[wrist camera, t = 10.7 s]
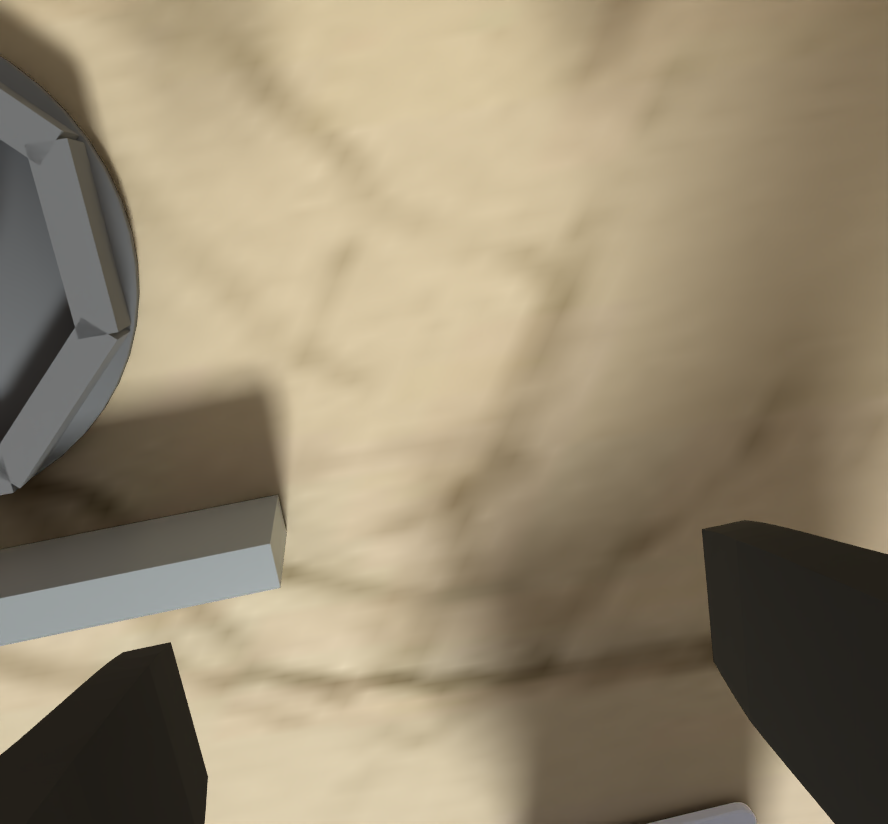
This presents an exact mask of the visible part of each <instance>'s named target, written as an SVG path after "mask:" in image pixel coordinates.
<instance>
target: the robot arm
mask: <svg viewBox="0 0 888 824" xmlns="http://www.w3.org/2000/svg"><path fill="white" fill-rule="evenodd" d="M702 535H703V547H704V558H705V569H706V581H707V592H708V603H709V615H710V626H711V637H712V649H713V660H714V663H715V665H716V666H717V668H718V670H719V671H720V673H721V675H722V676H723V678H724V680H725V681H726V683H727V685H728V687H729V688H730V690H731V692H732V693H733V695H734V696H735V698H736V700H737V701H738V703H739V704H740V706H741V707H742V709H743V711H744V712H745V714H746V715H747V717H748V718H749V720H750V721H751V723H752V724H753V725H754V726H755V728H756V729H757V730H758V731H759V733H760V734H761V735H762V736H763V738H764V739H765V740H766V741H767V743H768V744H769V745H770V746H771V747H772V749H773V750H774V751H775V752H776V754H777V755H778V756H779V757H780V758H781V760H782V761H783V762H784V763H785V765H786V766H787V767H788V768H789V769H790V771H791V772H792V773H793V774H794V775H795V777H796V778H797V779H798V780H799V781H800V783H801V784H802V785H803V786H804V787H805V789H806V790H807V791H808V792H809V793H810V795H811V796H812V797H813V798H814V799H815V800H816V802H817V803H818V804H819V805H820V806H821V808H822V809H823V810H824V811H825V812H826V814H827V815H828V816H829V817H830V818H831V820H832V821H833V822H834V823H835V824H888V554H884V553H880V552H876V551H872V550H869V549H865V548H861V547H857V546H853V545H850V544H846V543H842V542H838V541H835V540H831V539H827V538H823V537H820V536H816V535H812V534H808V533H804V532H801V531H797V530H793V529H789V528H784V527H780V526H776V525H771V524H766V523H761V522H754V521H746V520H744V521H739V522H734V523H730V524H725V525H720V526H716V527H711V528H706V529H702ZM207 782H208V775H207V772H206V768H205V765H204V761H203V757H202V754H201V750H200V746H199V743H198V739H197V736H196V732H195V728H194V725H193V721H192V718H191V714H190V710H189V707H188V703H187V699H186V696H185V692H184V689H183V685H182V681H181V678H180V674H179V670H178V667H177V663H176V660H175V656H174V652H173V649H172V645H171V642H170V643H165V644H160V645H155V646H151V647H146V648H141V649H137V650H132V651H127V652H123V653H121V654H120V655H118V656H117V657H115V658H114V659H112V660H111V661H110V662H109V663H107V664H106V665H105V666H103V667H102V668H101V669H100V670H99V671H97V672H96V673H95V674H94V675H93V676H91V677H90V678H89V679H88V680H87V681H86V682H85V683H83V684H82V685H81V686H80V687H79V688H78V689H76V690H75V691H74V692H73V693H72V694H71V695H70V696H69V697H67V698H66V699H65V700H64V701H63V702H62V703H61V704H59V705H58V706H57V707H56V708H55V709H54V710H53V711H51V712H50V713H49V714H48V715H47V716H46V717H45V718H43V719H42V720H41V721H40V722H39V723H38V724H37V725H35V726H34V727H33V728H32V729H31V730H30V731H29V732H27V733H26V734H25V735H24V736H23V737H22V738H20V739H19V740H18V741H17V742H16V743H15V744H13V745H12V746H11V747H10V748H8V749H7V750H6V751H5V752H4V753H2V754H1V755H0V824H204V823H205V811H206V796H207ZM648 824H757V820H756V817H755V814H754V813H753V812H752V810H751V809H750V807H748V806H747V805H746V804H745V803H742V802H734V803H729V804H725V805H721V806H717V807H713V808H709V809H705V810H701V811H697V812H693V813H689V814H684V815H680V816H676V817H672V818H668V819H664V820H660V821H656V822H652V823H648Z"/></svg>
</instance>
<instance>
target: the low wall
mask: <svg viewBox="0 0 888 824" xmlns="http://www.w3.org/2000/svg"><path fill="white" fill-rule="evenodd" d="M286 535H287V532H286V528H285V523H284V519H283V515H282V510H281V506H280V501H279V497H278V495H274V496H269V497H264V498H259V499H254V500H249V501H244V502H238V503H233V504H228V505H223V506H218V507H213V508H208V509H203V510H198V511H193V512H188V513H183V514H178V515H173V516H168V517H163V518H158V519H152V520H147V521H142V522H137V523H132V524H127V525H122V526H117V527H112V528H107V529H102V530H97V531H92V532H87V533H82V534H77V535H71V536H66V537H61V538H56V539H51V540H46V541H41V542H36V543H31V544H26V545H21V546H16V547H11V548H6V549H1V550H0V646H3V645H8V644H12V643H17V642H22V641H27V640H32V639H37V638H41V637H46V636H51V635H56V634H61V633H65V632H70V631H75V630H80V629H85V628H89V627H94V626H99V625H104V624H109V623H113V622H118V621H123V620H128V619H133V618H137V617H142V616H147V615H152V614H157V613H162V612H166V611H171V610H176V609H181V608H186V607H190V606H195V605H200V604H205V603H210V602H214V601H219V600H224V599H229V598H234V597H238V596H243V595H248V594H253V593H258V592H263V591H267V590H272V589H277V588H280V587H281V578H282V569H283V561H284V552H285V543H286Z"/></svg>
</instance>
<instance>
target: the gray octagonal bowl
mask: <svg viewBox="0 0 888 824" xmlns="http://www.w3.org/2000/svg"><path fill="white" fill-rule="evenodd" d="M138 305H139V277H138V262H137V257H136V251H135V246H134V240H133V235H132V231H131V227H130V224H129V221H128V218H127V215H126V212H125V209H124V206H123V203H122V200H121V198H120V195H119V193H118V191H117V189H116V187H115V185H114V183H113V180H112V178H111V176H110V174H109V172H108V170H107V168H106V166H105V165H104V163H103V162H102V160H101V158H100V157H99V155H98V154H97V152H96V150H95V149H94V147H93V146H92V144H91V142H90V141H89V139H88V138H87V137H86V135H85V134H84V133H83V132H82V130H81V129H80V128H79V127H78V126H77V124H76V123H75V122H74V121H73V119H72V118H71V117H70V116H69V114H68V113H67V112H66V111H65V110H64V109H63V108H62V107H61V106H60V105H59V104H58V103H57V102H56V101H55V100H54V99H53V98H52V97H51V96H50V95H49V94H48V93H47V92H46V91H45V90H44V89H43V88H42V87H41V86H40V85H39V84H37V83H36V82H35V81H34V80H32V79H31V78H30V77H28V76H27V75H26V74H25V73H23V72H22V71H21V70H20V69H18V68H17V67H16V66H14V65H13V64H12V63H11V62H9V61H7V60H6V59H4V58H2V57H1V56H0V495H4V494H10V493H14V492H15V491H16V490H17V489H18V488H21V487H22V486H23V485H24V484H25V483H27V482H28V481H29V480H30V479H31V478H32V477H33V476H35V475H37V474H38V473H39V472H41V471H42V470H43V469H45V468H46V467H48V466H49V465H50V464H52V463H53V462H54V461H56V460H57V459H58V458H60V457H61V456H62V455H63V454H64V453H65V452H66V451H67V450H68V449H69V448H70V447H71V446H72V445H73V444H74V443H75V442H76V441H78V440H79V439H80V438H81V437H82V436H83V435H84V434H85V433H86V432H87V431H88V429H89V428H90V427H91V425H92V424H93V423H94V422H95V420H96V419H97V418H98V416H99V415H100V414H101V412H102V411H103V410H104V408H105V407H106V405H107V403H108V402H109V400H110V398H111V396H112V395H113V393H114V391H115V389H116V387H117V386H118V384H119V382H120V379H121V377H122V374H123V372H124V369H125V366H126V364H127V361H128V359H129V356H130V353H131V348H132V344H133V340H134V335H135V331H136V327H137V317H138Z"/></svg>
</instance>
